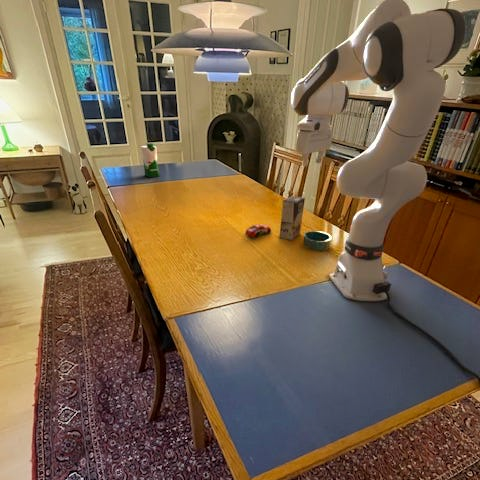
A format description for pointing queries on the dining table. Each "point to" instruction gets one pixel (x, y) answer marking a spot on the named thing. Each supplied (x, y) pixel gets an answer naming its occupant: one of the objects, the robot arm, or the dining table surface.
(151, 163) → the milk carton
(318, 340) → the dining table surface
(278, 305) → the dining table surface
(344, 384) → the dining table surface
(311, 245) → the teal bowl
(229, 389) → the dining table surface
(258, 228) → the race car
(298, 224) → the coffee box
